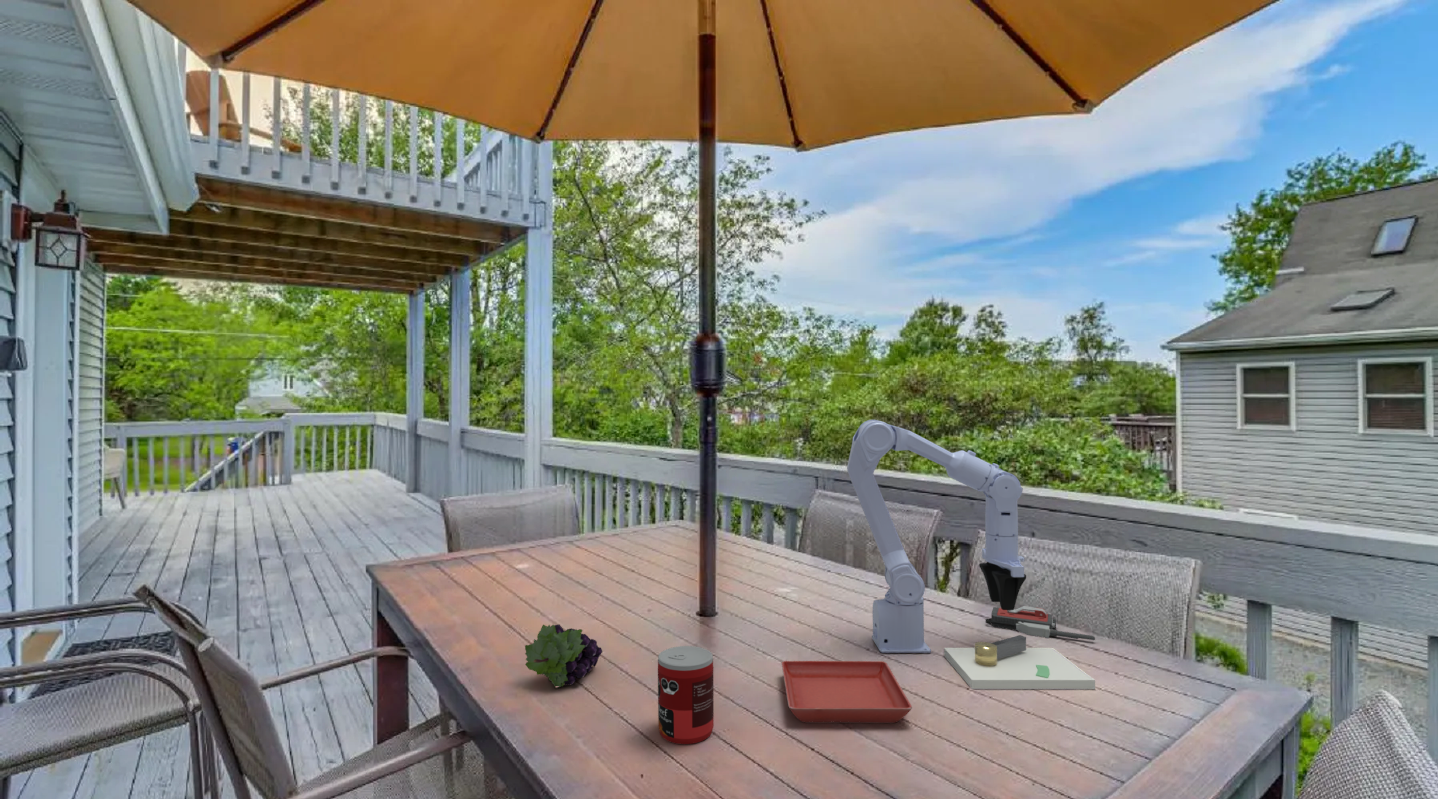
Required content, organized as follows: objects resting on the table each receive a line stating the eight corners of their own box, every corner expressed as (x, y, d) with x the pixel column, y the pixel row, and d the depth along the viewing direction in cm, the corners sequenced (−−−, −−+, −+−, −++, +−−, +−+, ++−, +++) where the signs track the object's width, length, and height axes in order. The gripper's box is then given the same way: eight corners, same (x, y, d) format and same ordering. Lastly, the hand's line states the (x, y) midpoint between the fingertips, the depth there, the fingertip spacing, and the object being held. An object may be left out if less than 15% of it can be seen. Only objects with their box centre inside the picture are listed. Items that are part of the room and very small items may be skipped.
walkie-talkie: (984, 631, 135) (1095, 647, 126) (983, 609, 135) (1095, 624, 126) (988, 618, 143) (1093, 633, 133) (988, 598, 143) (1093, 611, 133)
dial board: (971, 689, 107) (971, 678, 107) (944, 655, 121) (944, 646, 121) (1095, 689, 106) (1095, 678, 106) (1053, 655, 120) (1052, 646, 120)
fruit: (605, 688, 115) (552, 701, 102) (560, 667, 120) (504, 677, 107) (621, 630, 117) (571, 635, 104) (576, 612, 122) (522, 615, 109)
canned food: (658, 720, 97) (657, 646, 97) (711, 717, 98) (711, 644, 98) (657, 747, 90) (657, 667, 90) (715, 744, 90) (715, 664, 90)
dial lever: (987, 666, 111) (987, 651, 111) (970, 659, 114) (970, 644, 114) (1032, 653, 117) (1031, 638, 117) (1014, 647, 120) (1014, 632, 120)
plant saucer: (780, 678, 113) (780, 659, 113) (886, 678, 112) (885, 659, 112) (788, 730, 95) (788, 707, 95) (914, 731, 94) (914, 708, 94)
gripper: (1040, 541, 116) (1041, 617, 116) (1006, 526, 131) (1007, 594, 131) (1001, 542, 116) (1001, 618, 116) (971, 526, 131) (972, 594, 131)
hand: (1002, 605), depth 124 cm, fingers open, 4 cm apart
